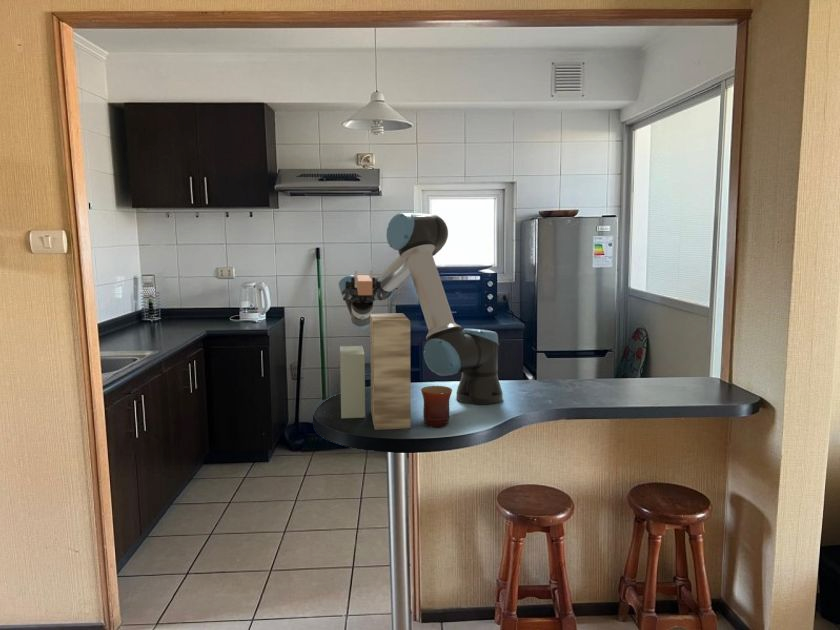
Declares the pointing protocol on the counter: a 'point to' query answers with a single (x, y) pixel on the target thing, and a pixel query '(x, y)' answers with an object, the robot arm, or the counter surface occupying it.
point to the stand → (390, 371)
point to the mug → (436, 406)
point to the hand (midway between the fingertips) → (363, 274)
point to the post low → (352, 381)
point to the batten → (364, 285)
